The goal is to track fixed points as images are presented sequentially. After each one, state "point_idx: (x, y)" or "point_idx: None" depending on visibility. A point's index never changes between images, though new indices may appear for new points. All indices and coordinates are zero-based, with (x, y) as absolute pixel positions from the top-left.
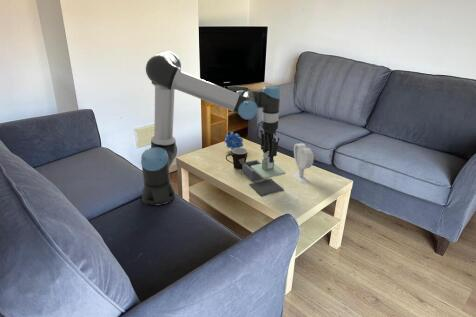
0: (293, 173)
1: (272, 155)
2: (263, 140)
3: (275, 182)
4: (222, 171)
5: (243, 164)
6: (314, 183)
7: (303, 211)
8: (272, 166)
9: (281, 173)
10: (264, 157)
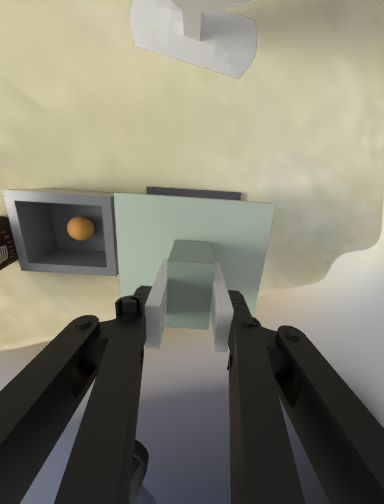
0: (140, 38)
1: (298, 381)
2: (17, 482)
3: (180, 189)
4: (27, 304)
5: (35, 269)
6: (275, 2)
7: (378, 219)
8: (219, 265)
9: (269, 230)
10: (164, 320)
